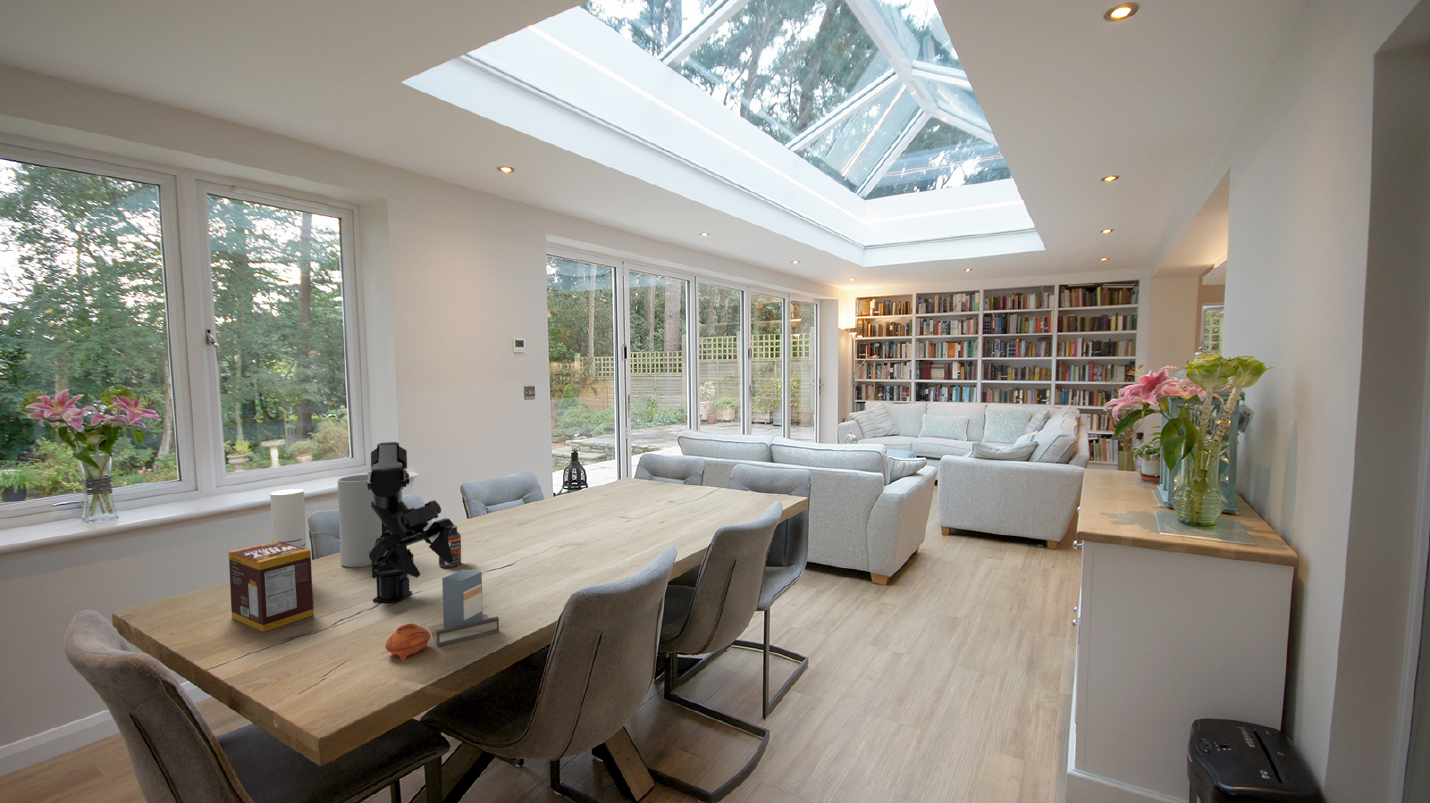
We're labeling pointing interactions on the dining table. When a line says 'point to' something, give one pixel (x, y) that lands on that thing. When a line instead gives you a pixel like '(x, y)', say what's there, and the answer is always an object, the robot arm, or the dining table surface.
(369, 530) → the cylinder vase
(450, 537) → the supplement bottle
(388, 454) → the robot arm
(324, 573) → the dining table surface
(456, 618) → the blue-grey carton
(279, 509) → the cylindrical container
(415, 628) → the pot
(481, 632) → the plate
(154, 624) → the dining table surface
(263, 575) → the supplement box
